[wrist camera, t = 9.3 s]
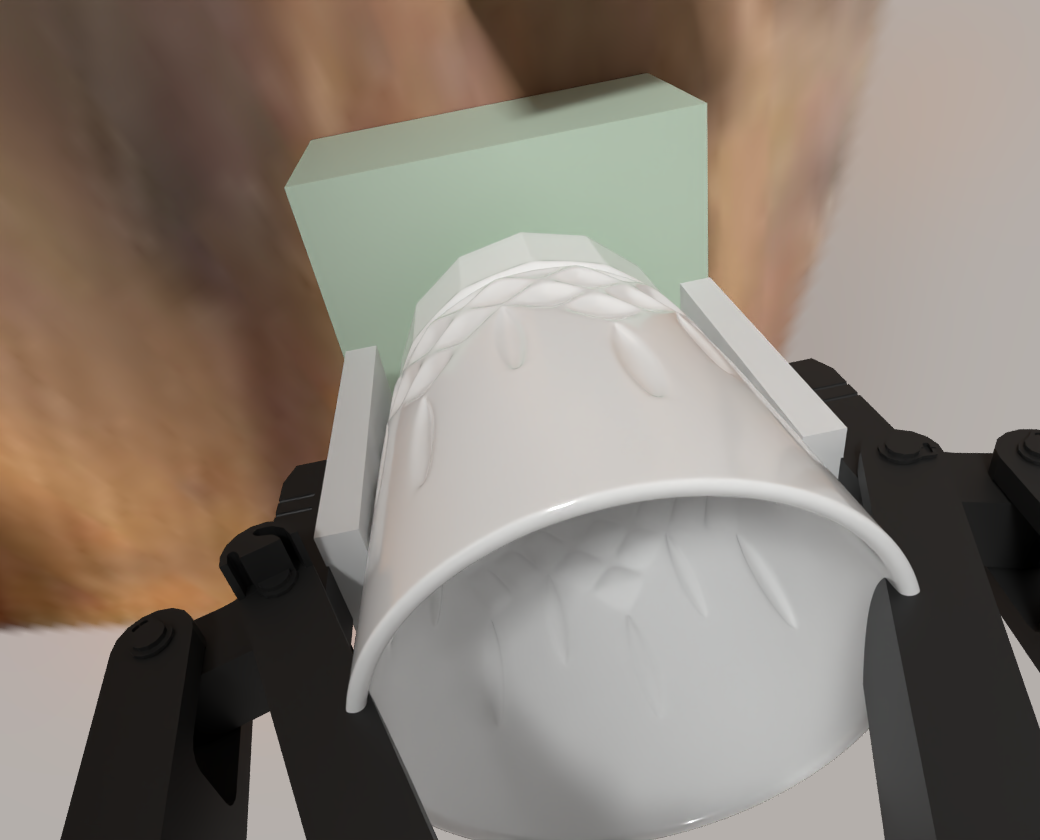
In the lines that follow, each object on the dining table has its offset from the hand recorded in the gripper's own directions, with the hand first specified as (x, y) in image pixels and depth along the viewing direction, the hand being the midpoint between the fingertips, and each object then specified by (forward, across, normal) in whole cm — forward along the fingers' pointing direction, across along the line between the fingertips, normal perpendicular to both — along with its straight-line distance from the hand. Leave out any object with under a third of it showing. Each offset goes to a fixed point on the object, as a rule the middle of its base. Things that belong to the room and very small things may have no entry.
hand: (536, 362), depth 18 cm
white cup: (0, 0, 0) cm, 0 cm away
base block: (+7, 0, 0) cm, 7 cm away
